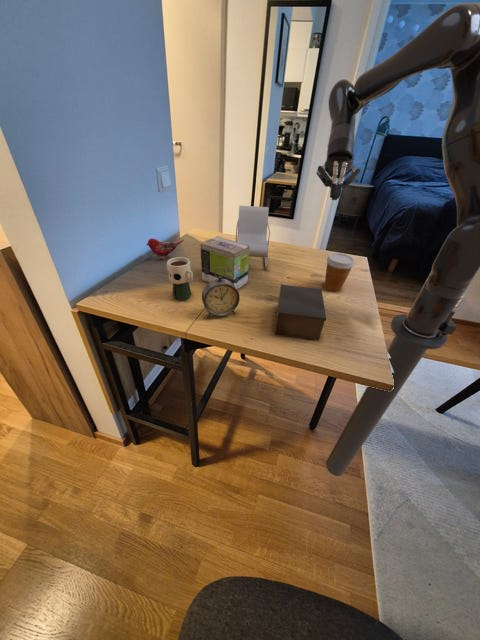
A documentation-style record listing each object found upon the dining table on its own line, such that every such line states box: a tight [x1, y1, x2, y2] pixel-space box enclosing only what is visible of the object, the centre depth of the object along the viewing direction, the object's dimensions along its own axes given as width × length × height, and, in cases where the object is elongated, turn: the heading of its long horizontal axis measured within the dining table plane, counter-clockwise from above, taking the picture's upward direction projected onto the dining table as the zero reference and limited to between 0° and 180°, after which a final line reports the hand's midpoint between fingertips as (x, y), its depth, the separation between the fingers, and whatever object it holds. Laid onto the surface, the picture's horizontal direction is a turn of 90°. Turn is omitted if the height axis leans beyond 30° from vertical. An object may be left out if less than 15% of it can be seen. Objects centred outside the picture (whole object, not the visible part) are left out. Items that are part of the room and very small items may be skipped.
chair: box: [235, 205, 271, 270], centre depth 110 cm, size 13×25×20 cm, turn 178°
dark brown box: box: [274, 292, 326, 341], centre depth 78 cm, size 15×13×8 cm
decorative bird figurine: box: [146, 237, 185, 261], centre depth 110 cm, size 3×18×10 cm, turn 132°
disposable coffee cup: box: [323, 252, 355, 293], centre depth 95 cm, size 10×10×12 cm
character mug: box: [166, 256, 194, 301], centre depth 85 cm, size 11×7×13 cm, turn 57°
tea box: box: [199, 235, 250, 290], centre depth 95 cm, size 15×10×15 cm
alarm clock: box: [201, 267, 241, 319], centre depth 77 cm, size 11×5×16 cm, turn 106°
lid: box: [278, 283, 327, 322], centre depth 75 cm, size 16×13×1 cm
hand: (335, 198), depth 77 cm, fingers closed
